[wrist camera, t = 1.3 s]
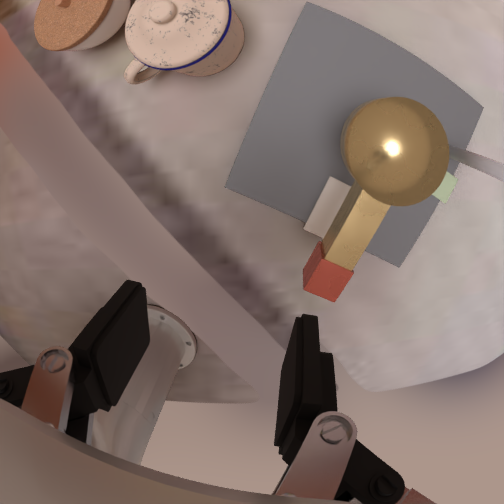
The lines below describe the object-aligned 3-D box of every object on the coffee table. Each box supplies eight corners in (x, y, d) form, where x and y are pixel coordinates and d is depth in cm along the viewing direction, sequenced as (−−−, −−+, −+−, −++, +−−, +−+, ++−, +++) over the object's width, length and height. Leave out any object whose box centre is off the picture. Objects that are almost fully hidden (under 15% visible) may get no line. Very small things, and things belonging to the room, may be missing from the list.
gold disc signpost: (364, 80, 19) (376, 75, 16) (443, 130, 19) (464, 135, 16) (277, 257, 26) (275, 279, 23) (352, 290, 27) (359, 313, 24)
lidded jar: (119, 65, 28) (68, 59, 19) (62, 46, 26) (11, 42, 18) (161, -13, 23) (122, -41, 15) (98, -24, 22) (53, -43, 13)
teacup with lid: (212, -10, 23) (175, -56, 13) (265, 43, 25) (249, 8, 15) (131, 58, 27) (66, 47, 17) (176, 112, 30) (120, 118, 19)
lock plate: (398, 270, 34) (430, 334, 24) (224, 190, 33) (190, 232, 22) (483, 110, 24) (550, 121, 13) (306, 4, 23) (311, -47, 12)
